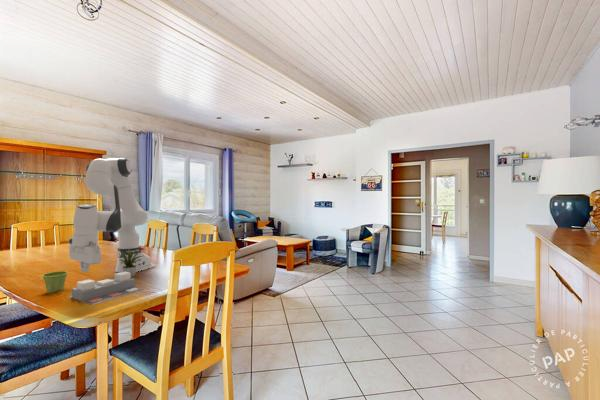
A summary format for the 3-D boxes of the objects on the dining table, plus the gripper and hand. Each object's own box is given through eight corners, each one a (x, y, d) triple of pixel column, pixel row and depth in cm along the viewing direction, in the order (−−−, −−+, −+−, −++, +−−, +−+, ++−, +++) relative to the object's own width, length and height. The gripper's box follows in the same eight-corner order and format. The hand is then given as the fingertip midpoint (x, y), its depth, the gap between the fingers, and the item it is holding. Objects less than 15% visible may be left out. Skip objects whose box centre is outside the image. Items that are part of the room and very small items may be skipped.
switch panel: (120, 285, 147) (120, 275, 146) (144, 291, 137) (144, 281, 137) (67, 298, 126) (67, 287, 126) (91, 307, 117) (91, 295, 117)
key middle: (107, 289, 136) (108, 278, 136) (113, 290, 134) (113, 280, 134) (96, 292, 132) (96, 281, 132) (102, 294, 129) (102, 283, 129)
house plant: (129, 282, 151) (129, 252, 151) (107, 280, 153) (107, 251, 153) (148, 275, 165) (148, 247, 165) (127, 273, 167) (128, 246, 167)
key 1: (89, 290, 129) (89, 279, 129) (95, 292, 127) (95, 281, 127) (76, 293, 125) (76, 282, 124) (82, 295, 122) (82, 283, 122)
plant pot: (46, 296, 129) (46, 277, 128) (38, 292, 134) (39, 274, 133) (70, 290, 137) (71, 273, 136) (63, 287, 142) (63, 270, 141)
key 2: (124, 281, 143) (124, 271, 143) (130, 282, 141) (130, 272, 141) (114, 283, 139) (114, 273, 139) (120, 285, 136) (120, 275, 136)
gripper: (106, 242, 123) (105, 273, 123) (82, 238, 133) (81, 267, 133) (89, 243, 117) (88, 276, 117) (66, 239, 127) (65, 269, 127)
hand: (84, 271), depth 125 cm, fingers closed
